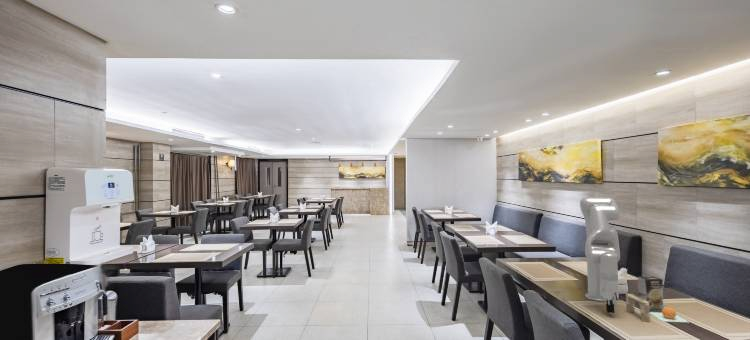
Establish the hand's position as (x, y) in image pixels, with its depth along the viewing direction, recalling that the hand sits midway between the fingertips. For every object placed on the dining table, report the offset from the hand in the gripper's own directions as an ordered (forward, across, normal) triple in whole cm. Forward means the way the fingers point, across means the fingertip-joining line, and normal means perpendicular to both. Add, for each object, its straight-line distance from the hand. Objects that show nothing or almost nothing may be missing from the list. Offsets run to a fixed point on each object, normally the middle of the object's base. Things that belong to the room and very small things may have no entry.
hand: (610, 312), depth 182 cm
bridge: (+2, 0, +13) cm, 13 cm away
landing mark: (+2, 0, +27) cm, 27 cm away
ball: (-1, +2, +27) cm, 27 cm away
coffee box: (+2, -15, +28) cm, 32 cm away
